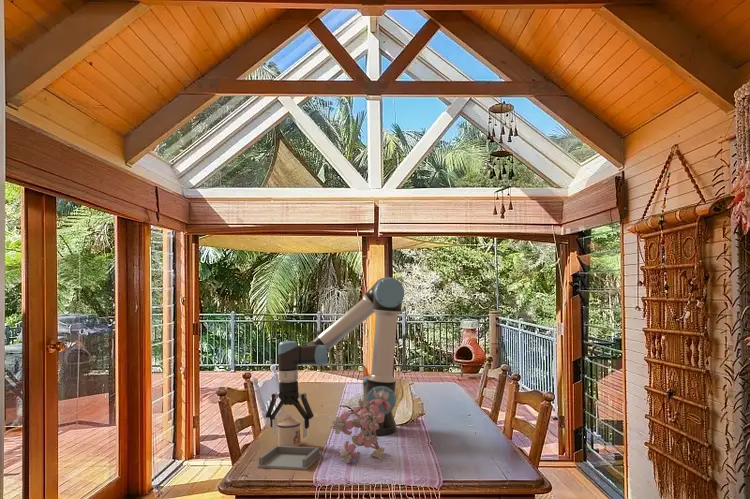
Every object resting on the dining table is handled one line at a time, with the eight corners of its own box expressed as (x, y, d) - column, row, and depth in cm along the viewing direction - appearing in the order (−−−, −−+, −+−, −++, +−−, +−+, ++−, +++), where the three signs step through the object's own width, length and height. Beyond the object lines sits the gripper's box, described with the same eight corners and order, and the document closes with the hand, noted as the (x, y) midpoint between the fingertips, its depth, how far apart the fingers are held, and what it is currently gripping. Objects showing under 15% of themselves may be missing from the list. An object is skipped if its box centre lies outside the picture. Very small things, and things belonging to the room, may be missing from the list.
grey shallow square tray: (321, 455, 207) (321, 446, 208) (306, 469, 192) (305, 460, 192) (276, 453, 212) (276, 444, 212) (257, 467, 196) (257, 458, 196)
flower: (338, 442, 217) (327, 389, 208) (396, 435, 217) (387, 381, 207) (336, 482, 199) (324, 426, 189) (399, 474, 198) (390, 418, 189)
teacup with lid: (298, 449, 216) (297, 418, 216) (275, 449, 217) (274, 418, 217) (304, 440, 228) (303, 411, 228) (282, 440, 228) (281, 411, 229)
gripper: (256, 382, 223) (257, 437, 222) (314, 382, 217) (315, 439, 216) (264, 378, 230) (265, 432, 229) (320, 379, 224) (322, 434, 223)
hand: (289, 436), depth 222 cm, fingers open, 12 cm apart
